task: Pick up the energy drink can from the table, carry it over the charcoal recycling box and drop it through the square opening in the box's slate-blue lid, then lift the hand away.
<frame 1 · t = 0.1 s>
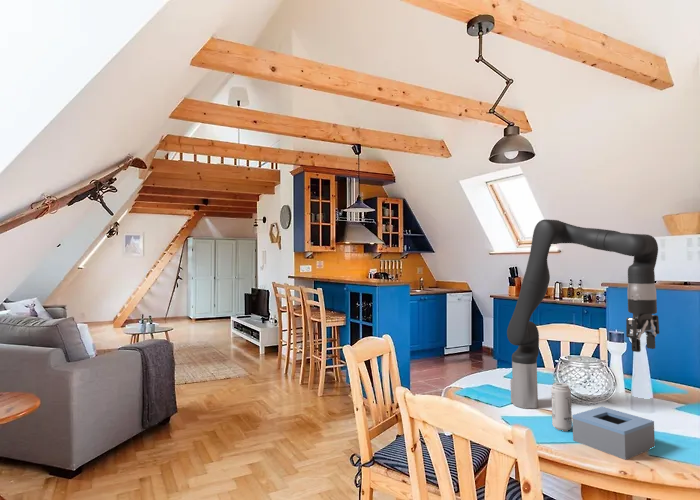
hand: (643, 350, 135), 29 cm above the table, tool pointing down, fingers open, 8 cm apart
energy drink can: (562, 429, 148), on the table
recycling box: (613, 443, 135), on the table
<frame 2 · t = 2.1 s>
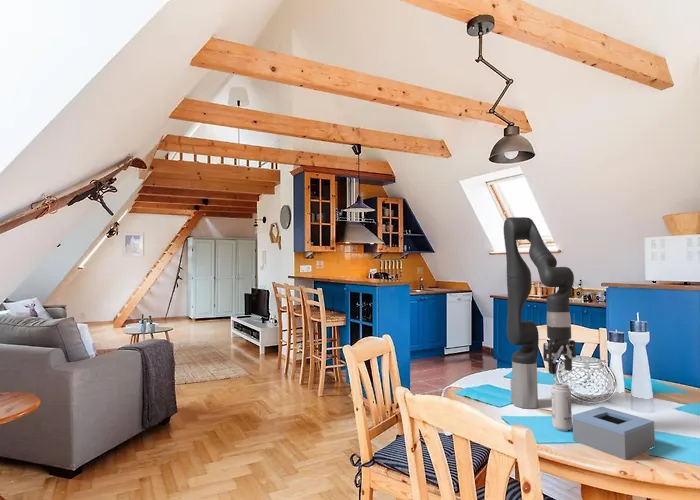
hand: (560, 372, 149), 19 cm above the table, tool pointing down, fingers open, 8 cm apart
nothing on the table moved.
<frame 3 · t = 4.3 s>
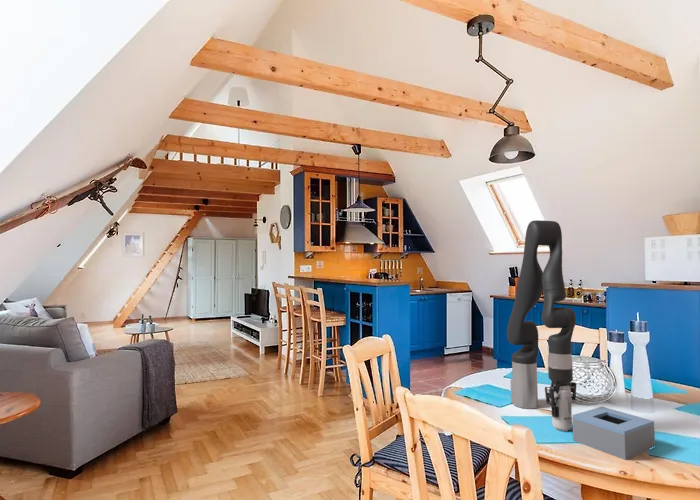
hand: (561, 415, 148), 5 cm above the table, tool pointing down, fingers closed on energy drink can, 6 cm apart
energy drink can: (562, 429, 148), on the table, touching gripper
everything else where it was.
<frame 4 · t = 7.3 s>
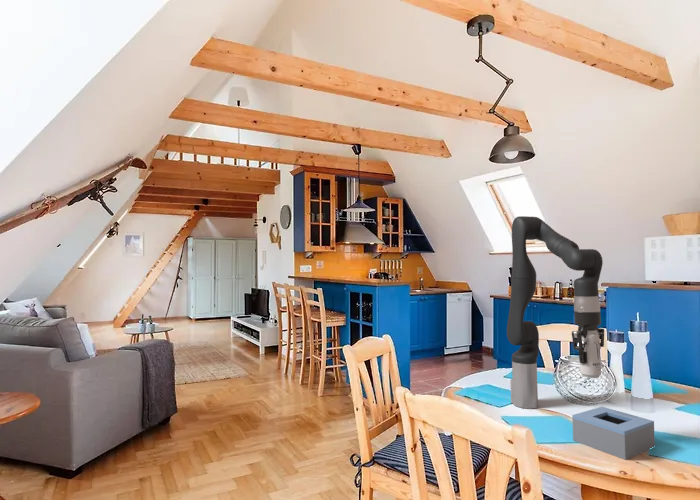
hand: (589, 361, 141), 24 cm above the table, tool pointing down, fingers closed on energy drink can, 6 cm apart
energy drink can: (590, 376, 140), point 20 cm above the table, touching gripper
everything else where it was.
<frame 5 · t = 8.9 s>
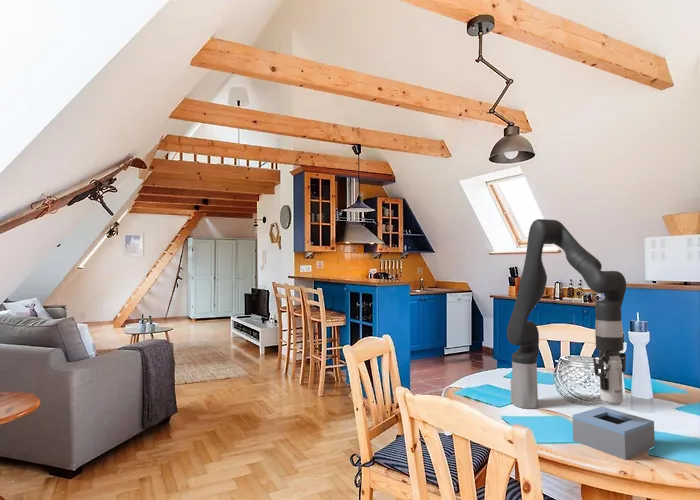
hand: (610, 388, 136), 17 cm above the table, tool pointing down, fingers closed on energy drink can, 6 cm apart
energy drink can: (611, 403, 136), point 12 cm above the table, touching gripper
everything else where it was.
when the fingers open (15 cm above the table, at t = 10.3 s): energy drink can drops 10 cm, resting in recycling box.
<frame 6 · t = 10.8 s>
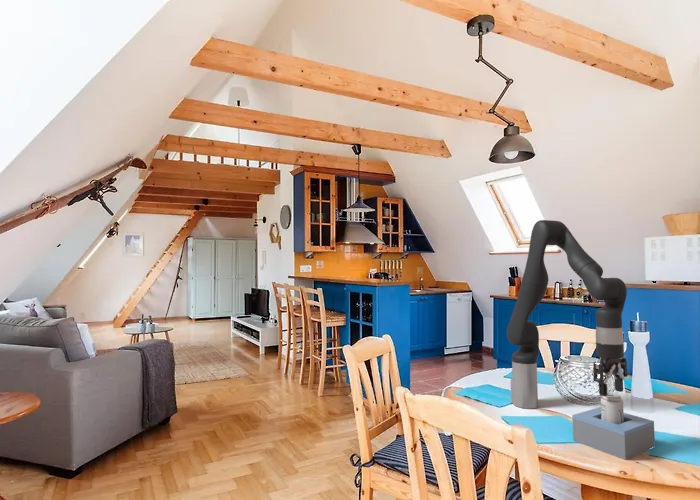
hand: (611, 393, 136), 16 cm above the table, tool pointing down, fingers open, 8 cm apart
energy drink can: (613, 444, 135), resting in recycling box
everything else where it was.
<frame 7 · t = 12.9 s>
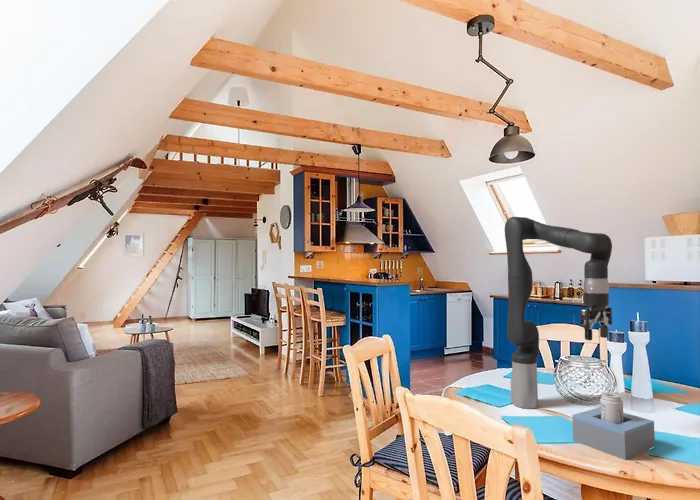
hand: (596, 338, 148), 31 cm above the table, tool pointing down, fingers open, 8 cm apart
nothing on the table moved.
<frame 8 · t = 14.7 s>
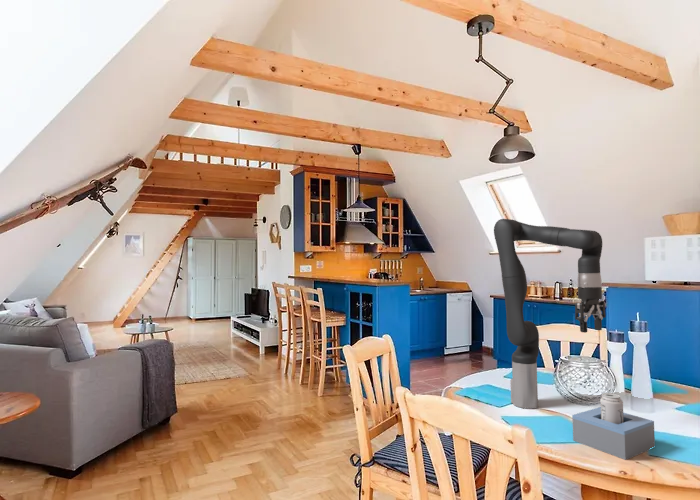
hand: (591, 331, 155), 32 cm above the table, tool pointing down, fingers open, 8 cm apart
at the end: energy drink can inside the target area on the recycling box (0.1 cm from its centre), point 0.0 cm above the recycling box's base; the gripper is holding nothing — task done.
